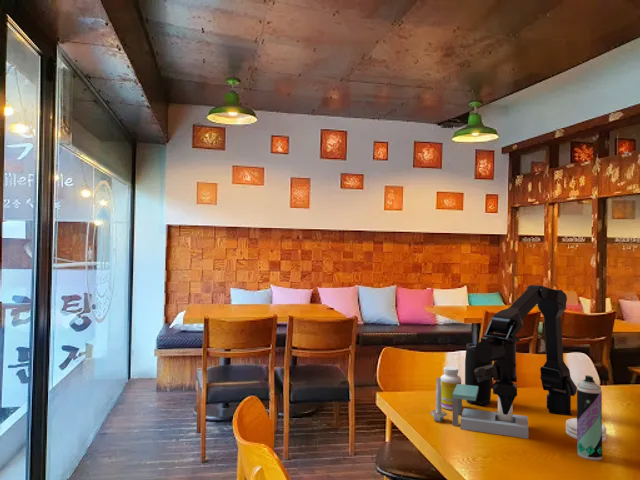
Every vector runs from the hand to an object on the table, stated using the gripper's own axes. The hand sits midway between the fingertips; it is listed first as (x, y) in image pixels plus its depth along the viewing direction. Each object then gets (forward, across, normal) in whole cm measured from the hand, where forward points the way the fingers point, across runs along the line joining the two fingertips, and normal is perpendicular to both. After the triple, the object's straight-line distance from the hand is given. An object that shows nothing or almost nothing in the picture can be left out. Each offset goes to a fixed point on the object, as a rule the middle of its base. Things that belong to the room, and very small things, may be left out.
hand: (505, 412), depth 138 cm
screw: (+5, 0, -19) cm, 20 cm away
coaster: (+5, -4, +21) cm, 22 cm away
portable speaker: (+5, -23, -9) cm, 25 cm away
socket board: (+5, 0, -3) cm, 6 cm away
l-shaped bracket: (+5, -3, -11) cm, 13 cm away
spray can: (+5, +11, +20) cm, 23 cm away
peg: (+2, 0, 0) cm, 3 cm away
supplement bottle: (+5, -14, -17) cm, 23 cm away
